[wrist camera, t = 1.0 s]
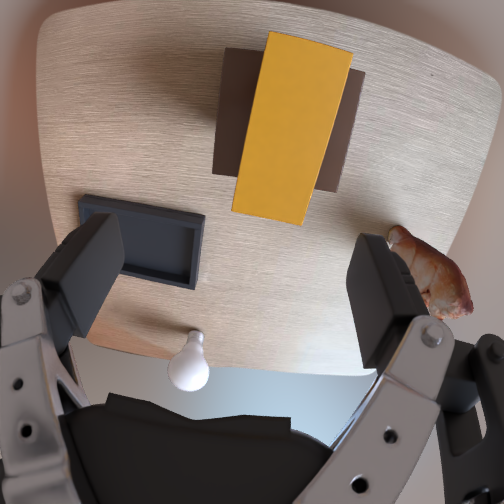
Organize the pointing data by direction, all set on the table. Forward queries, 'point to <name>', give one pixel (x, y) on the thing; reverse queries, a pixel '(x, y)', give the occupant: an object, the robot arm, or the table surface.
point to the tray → (154, 239)
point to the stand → (239, 109)
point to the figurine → (433, 275)
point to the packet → (289, 126)
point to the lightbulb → (189, 365)
